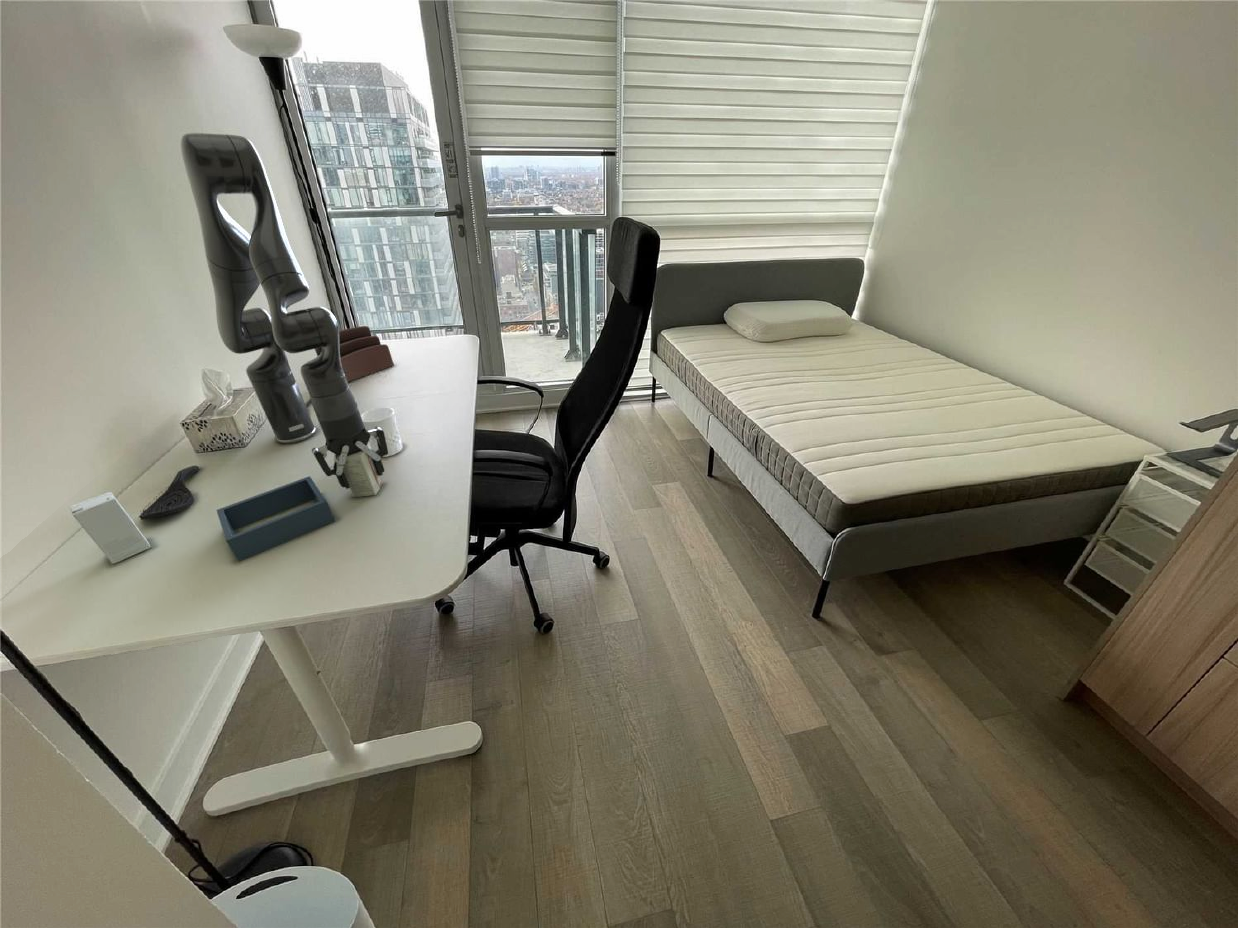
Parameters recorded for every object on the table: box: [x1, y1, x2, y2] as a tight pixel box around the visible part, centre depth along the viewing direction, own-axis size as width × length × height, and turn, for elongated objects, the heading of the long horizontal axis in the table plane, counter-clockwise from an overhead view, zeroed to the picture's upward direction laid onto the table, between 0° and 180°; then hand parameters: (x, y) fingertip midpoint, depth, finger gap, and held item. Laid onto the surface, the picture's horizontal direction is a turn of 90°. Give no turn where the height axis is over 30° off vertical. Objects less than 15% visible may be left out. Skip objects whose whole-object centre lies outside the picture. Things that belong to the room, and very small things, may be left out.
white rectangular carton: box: [337, 445, 383, 498], centre depth 110 cm, size 5×4×10 cm
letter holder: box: [314, 325, 395, 383], centre depth 172 cm, size 10×20×14 cm, turn 144°
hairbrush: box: [138, 465, 200, 521], centre depth 114 cm, size 8×4×25 cm
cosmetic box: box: [69, 491, 151, 565], centre depth 95 cm, size 6×4×12 cm
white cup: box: [360, 406, 403, 458], centre depth 125 cm, size 8×8×10 cm
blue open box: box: [216, 475, 336, 562], centre depth 102 cm, size 13×17×5 cm
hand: (363, 480), depth 111 cm, fingers closed on white rectangular carton, 6 cm apart
